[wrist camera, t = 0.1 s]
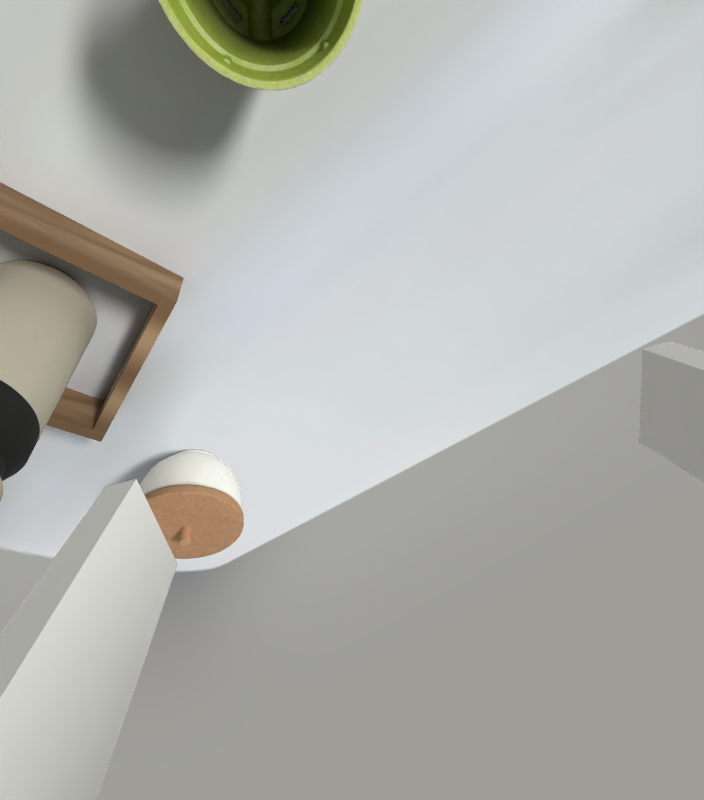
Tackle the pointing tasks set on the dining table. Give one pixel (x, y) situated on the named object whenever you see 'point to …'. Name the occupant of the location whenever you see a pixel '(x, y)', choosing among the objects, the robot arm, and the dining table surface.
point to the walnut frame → (109, 263)
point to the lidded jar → (195, 503)
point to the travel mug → (36, 352)
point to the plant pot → (265, 37)
